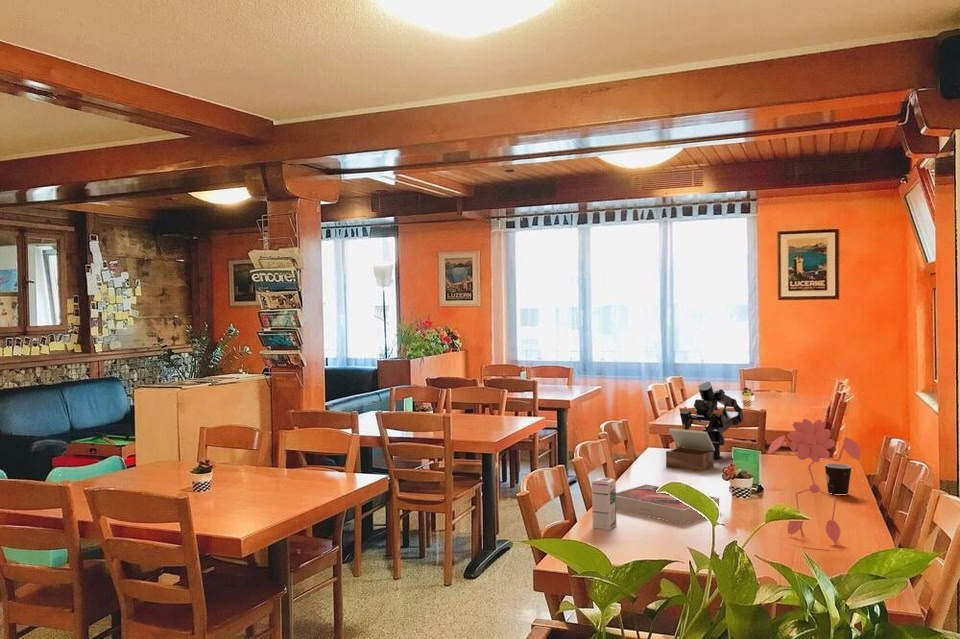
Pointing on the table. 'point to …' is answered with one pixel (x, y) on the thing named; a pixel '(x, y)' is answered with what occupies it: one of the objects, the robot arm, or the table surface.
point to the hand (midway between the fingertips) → (695, 431)
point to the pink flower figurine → (814, 460)
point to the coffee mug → (838, 478)
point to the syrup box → (604, 503)
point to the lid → (692, 439)
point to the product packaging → (656, 504)
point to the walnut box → (690, 459)
